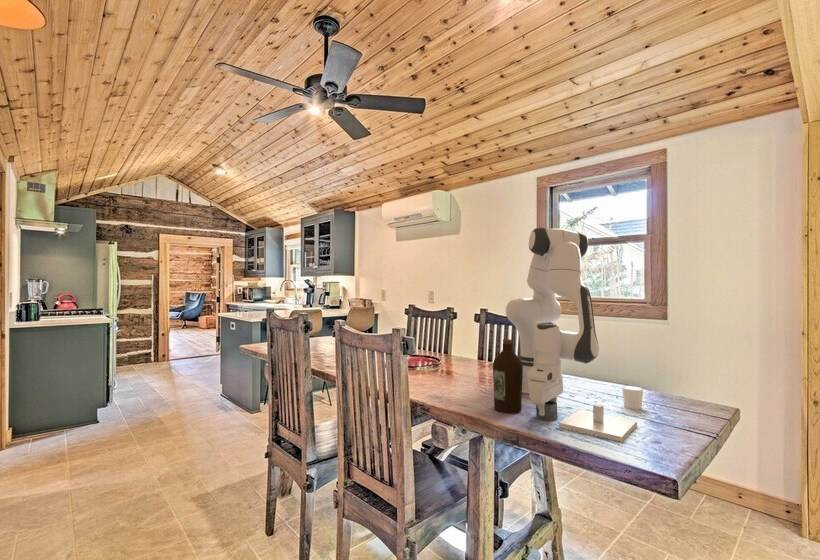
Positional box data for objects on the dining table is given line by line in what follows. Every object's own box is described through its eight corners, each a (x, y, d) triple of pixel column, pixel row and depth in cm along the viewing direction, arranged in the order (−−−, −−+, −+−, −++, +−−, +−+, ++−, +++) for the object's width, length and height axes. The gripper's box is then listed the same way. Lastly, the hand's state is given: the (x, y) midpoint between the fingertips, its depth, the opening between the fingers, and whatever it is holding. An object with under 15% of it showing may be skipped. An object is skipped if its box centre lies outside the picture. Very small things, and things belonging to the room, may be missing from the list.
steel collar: (533, 417, 138) (533, 402, 138) (541, 412, 143) (541, 398, 143) (552, 421, 134) (552, 406, 134) (560, 416, 139) (559, 402, 139)
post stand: (559, 427, 129) (559, 406, 129) (579, 413, 142) (579, 395, 142) (621, 442, 117) (621, 419, 117) (637, 425, 130) (636, 405, 130)
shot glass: (646, 410, 146) (646, 390, 146) (625, 409, 147) (625, 389, 147) (639, 404, 153) (639, 385, 153) (619, 403, 154) (619, 385, 154)
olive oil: (510, 403, 154) (510, 337, 154) (529, 412, 144) (529, 340, 144) (486, 407, 150) (486, 338, 150) (504, 415, 140) (504, 342, 140)
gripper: (550, 365, 148) (550, 403, 148) (525, 374, 133) (525, 417, 133) (567, 367, 144) (568, 406, 144) (544, 377, 129) (544, 421, 129)
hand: (547, 412), depth 138 cm, fingers open, 7 cm apart
